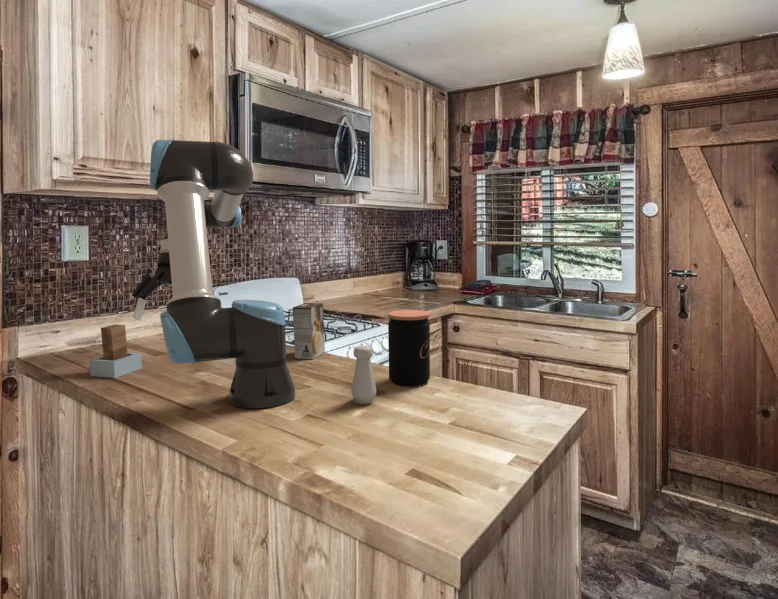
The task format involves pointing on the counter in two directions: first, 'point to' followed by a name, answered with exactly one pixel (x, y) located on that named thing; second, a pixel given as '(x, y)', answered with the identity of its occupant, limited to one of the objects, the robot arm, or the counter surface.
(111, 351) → the upright wooden block
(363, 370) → the salt shaker
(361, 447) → the counter surface
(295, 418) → the counter surface
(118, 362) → the blue-grey open box
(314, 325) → the coffee box
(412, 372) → the coffee jar
